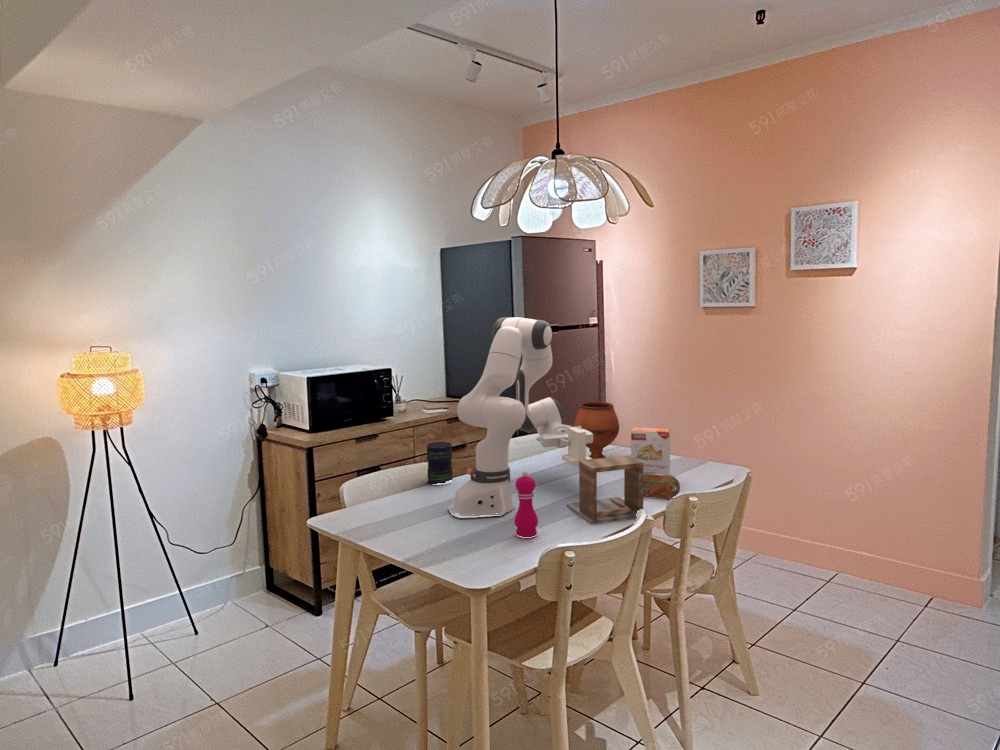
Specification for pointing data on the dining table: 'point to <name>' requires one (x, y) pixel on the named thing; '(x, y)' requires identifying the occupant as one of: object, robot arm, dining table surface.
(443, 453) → the storage jar
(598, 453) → the goblet
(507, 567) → the dining table surface
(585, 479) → the frame
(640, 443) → the cracker box
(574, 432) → the tall narrow cream block
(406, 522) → the dining table surface
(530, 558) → the dining table surface
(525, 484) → the pepper mill
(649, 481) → the tin
